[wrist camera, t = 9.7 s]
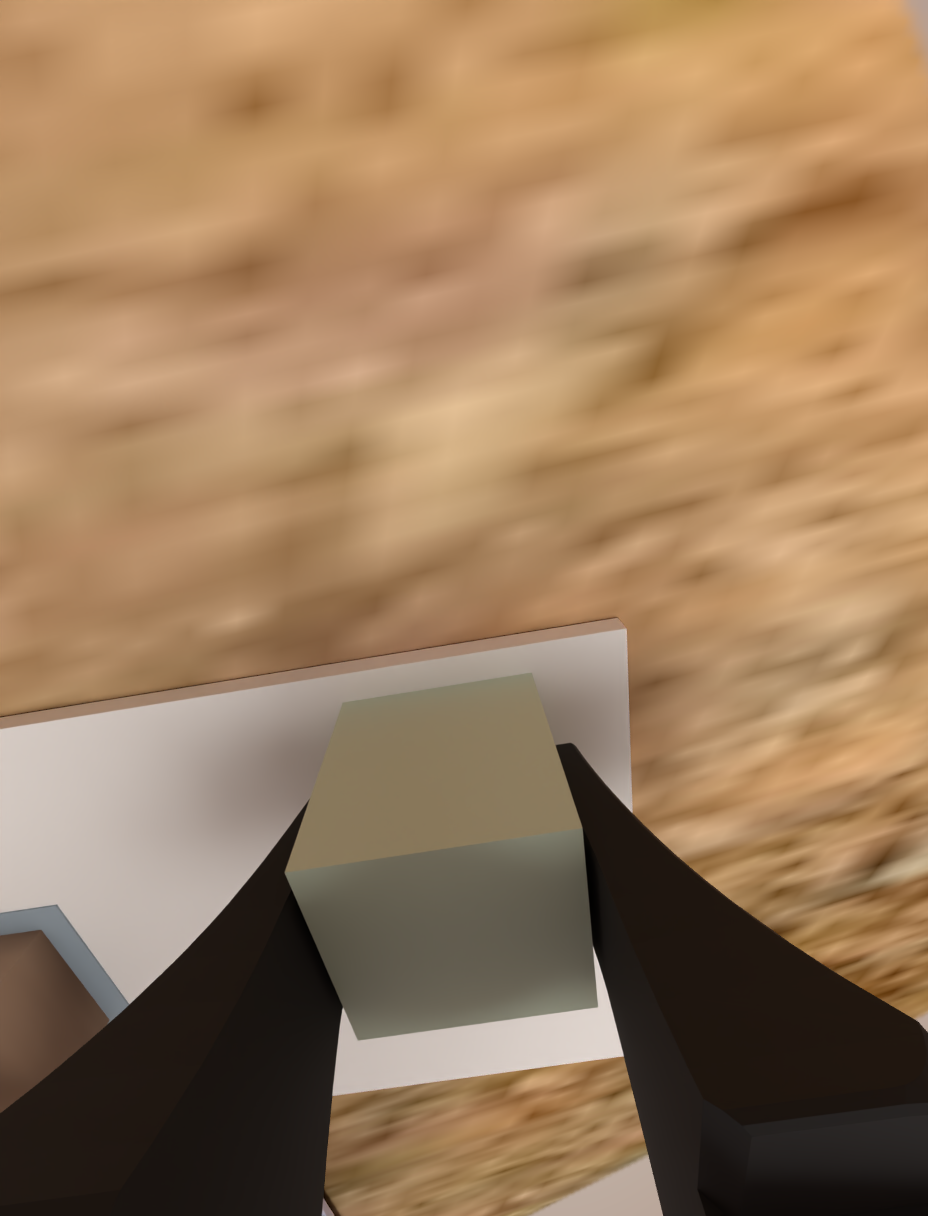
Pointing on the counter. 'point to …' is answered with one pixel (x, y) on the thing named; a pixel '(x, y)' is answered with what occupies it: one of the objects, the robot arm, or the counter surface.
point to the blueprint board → (264, 823)
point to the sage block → (446, 862)
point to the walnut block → (39, 1013)
